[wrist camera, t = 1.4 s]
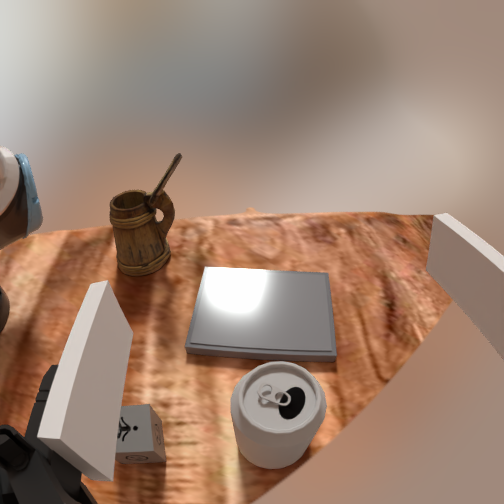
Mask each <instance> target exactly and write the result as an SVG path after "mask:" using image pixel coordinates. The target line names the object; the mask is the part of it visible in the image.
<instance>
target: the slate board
mask: <svg viewBox="0 0 504 504" xmlns="http://www.w3.org/2000/svg"><path fill="white" fill-rule="evenodd" d="M185 349H186V352H187V353H190V354H199V355H209V356H219V357H231V358H244V359H259V360H279V361H308V362H334V361H335V359H336V356H337V353H336V341H335V331H334V320H333V311H332V301H331V292H330V284H329V276H328V273H320V272H297V271H276V270H256V269H236V268H218V267H205V270H204V273H203V277H202V281H201V285H200V288H199V292H198V296H197V300H196V304H195V308H194V311H193V315H192V319H191V323H190V327H189V331H188V335H187V339H186V343H185Z"/></svg>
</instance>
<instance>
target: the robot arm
mask: <svg viewBox="0 0 504 504" xmlns="http://www.w3.org/2000/svg"><path fill="white" fill-rule="evenodd" d="M42 221H43V217H42V211H41V207H40V203H39V199H38V197H37V191H36V186H35V183H34V179H33V175H32V171H31V168H30V165H29V161H28V158H27V156H26V155H25V154H19V155H18V154H16V155H13V153H12V152H11V151H10V150H8V149H7V148H5V147H2V146H0V250H1V249H3V248H5V247H7V246H8V245H10V244H12V243H14V242H16V241H18V240H20V239H22V238H23V239H24V238H26V237H27V236H28V235H29V234H30V233H32V232H34V231H36V230H37V229H39V228H40V226H41V224H42ZM426 271H427V272H428V273H429V274H430V275H431V276H432V277H433V278H434V279H435V280H436V281H437V283H438V284H439V285H440V286H441V287H442V288H443V289H444V290H445V291H446V292H447V293H448V294H449V296H450V297H451V298H452V299H453V300H454V301H455V302H456V303H457V304H458V306H459V307H460V308H461V309H462V310H463V311H464V312H465V314H466V315H467V316H468V317H469V318H470V319H471V320H472V322H473V323H474V324H475V325H476V326H477V327H478V329H479V330H480V331H481V332H482V334H483V335H484V336H485V337H486V338H487V340H488V341H489V342H490V343H491V345H492V346H493V347H494V348H495V349H496V351H497V352H498V353H499V355H500V356H501V357H502V359H503V360H504V256H503V255H501V254H500V253H499V252H498V251H497V250H495V249H494V248H493V247H492V246H490V245H489V244H487V242H485V241H484V240H482V239H481V238H480V237H479V236H478V235H476V234H475V233H474V232H472V231H471V230H470V229H468V228H467V227H466V226H464V225H463V224H462V223H460V222H459V221H457V220H456V219H455V218H453V217H452V216H450V215H449V214H448V213H444V214H439V215H434V217H433V226H432V233H431V241H430V248H429V254H428V260H427V266H426ZM8 314H9V299H8V297H7V295H6V293H5V292H4V290H3V289H2V287H1V286H0V332H1V330H2V329H3V327H4V325H5V323H6V320H7V317H8ZM132 338H133V332H132V330H131V328H130V326H129V324H128V322H127V320H126V318H125V316H124V314H123V312H122V310H121V308H120V305H119V303H118V301H117V299H116V297H115V295H114V293H113V290H112V288H111V286H110V284H109V281H108V280H107V281H102V282H97V283H92V284H91V285H90V287H89V289H88V292H87V294H86V296H85V298H84V301H83V303H82V305H81V308H80V310H79V313H78V315H77V318H76V320H75V323H74V325H73V328H72V330H71V333H70V335H69V338H68V341H67V343H66V346H65V349H64V351H63V354H62V357H61V360H60V363H59V365H52V366H51V367H50V368H49V370H48V371H47V372H46V374H45V375H44V377H43V379H42V382H41V385H40V388H39V392H38V394H37V397H36V403H34V406H33V409H32V413H31V416H30V419H29V423H28V426H27V430H26V433H25V437H23V436H22V435H21V434H20V433H19V432H18V431H16V430H15V429H14V428H13V427H11V426H9V425H1V426H0V504H98V503H97V502H96V500H95V499H94V498H93V496H92V495H91V493H90V492H89V490H88V489H87V487H86V486H85V485H84V484H83V483H82V482H81V474H82V473H83V474H84V475H85V476H87V477H88V478H90V479H91V480H98V481H113V475H114V463H115V453H116V443H117V434H118V426H119V418H120V410H121V403H122V396H123V389H124V383H125V377H126V371H127V365H128V359H129V353H130V348H131V343H132Z"/></svg>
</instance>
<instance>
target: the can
mask: <svg viewBox="0 0 504 504" xmlns="http://www.w3.org/2000/svg"><path fill="white" fill-rule="evenodd" d="M326 407H327V405H326V399H325V393H324V391H323V389H322V388H321V386H320V384H319V382H318V381H317V380H316V379H315V377H314V376H313V375H312V374H311V373H309V372H308V371H307V370H306V369H305V368H303V367H301V366H299V365H297V364H294V363H289V362H284V361H279V362H269V363H266V364H263V365H260V366H258V367H256V368H255V369H253V370H252V371H250V372H249V373H247V374H246V375H244V376H243V377H242V379H241V380H240V381H239V382H238V384H237V385H236V386H235V388H234V391H233V394H232V397H231V416H232V421H233V426H234V431H235V436H236V441H237V445H238V447H239V450H240V452H241V454H242V455H243V456H244V457H245V458H246V459H247V460H248V461H249V462H251V463H253V464H254V465H256V466H258V467H262V468H266V469H279V468H284V467H286V466H289V465H291V464H293V463H294V462H296V461H297V460H298V459H299V458H301V457H302V455H303V453H304V452H305V450H306V449H307V447H308V446H309V444H310V442H311V441H312V439H313V437H314V436H315V434H316V432H317V431H318V429H319V427H320V425H321V424H322V422H323V420H324V417H325V412H326Z"/></svg>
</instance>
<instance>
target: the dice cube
mask: <svg viewBox="0 0 504 504" xmlns="http://www.w3.org/2000/svg"><path fill="white" fill-rule="evenodd" d="M115 460H117V461H118V462H120V463H122V464H135V463H154V462H166V454H165V447H164V439H163V430H162V421H161V419H160V418H159V417H158V415H157V414H156V413H155V411H154V410H153V408H152V407H151V406H150V404H145V405H133V406H121V410H120V418H119V426H118V434H117V443H116V453H115Z"/></svg>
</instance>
